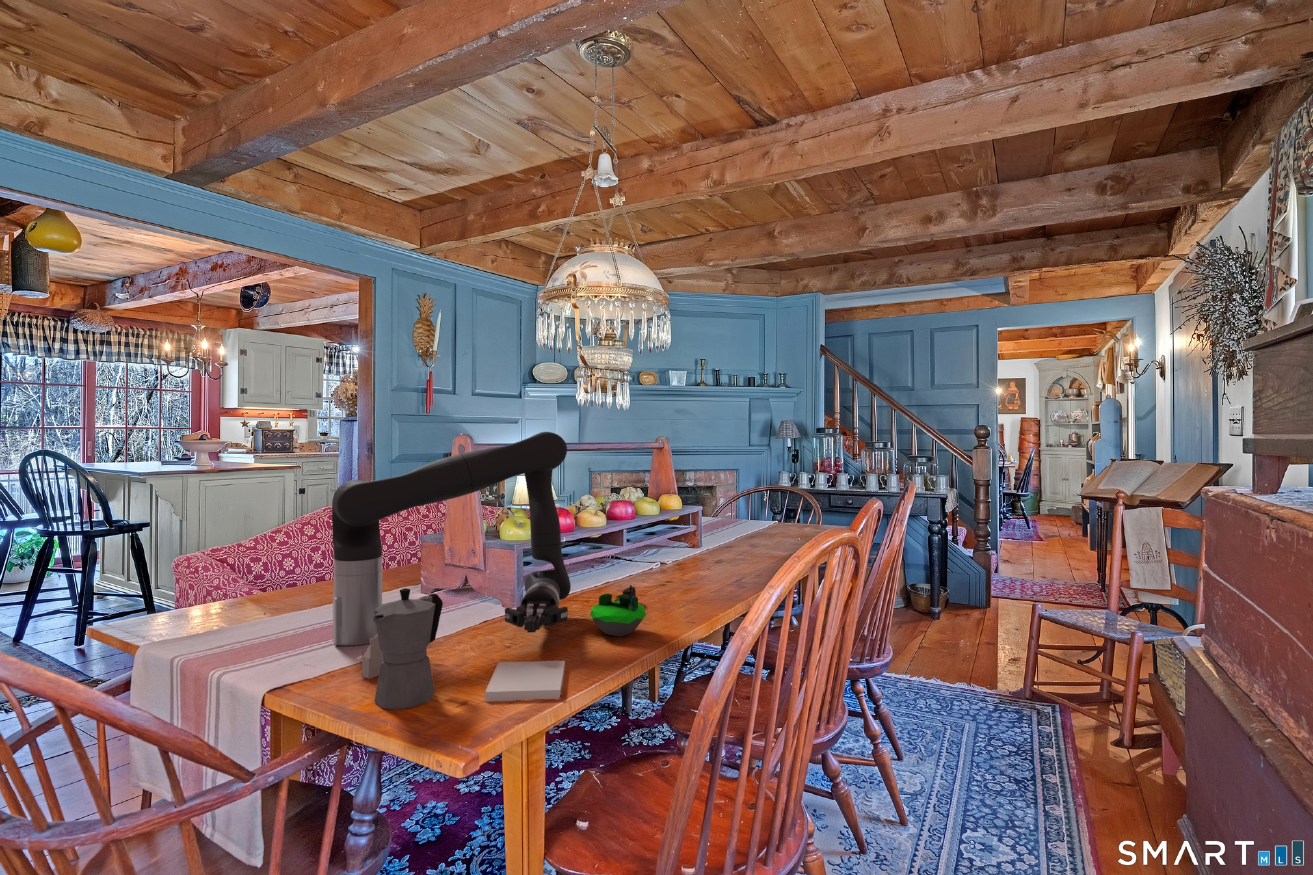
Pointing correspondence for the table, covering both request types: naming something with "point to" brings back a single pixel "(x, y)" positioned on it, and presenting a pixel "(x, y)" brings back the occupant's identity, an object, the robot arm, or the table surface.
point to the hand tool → (627, 593)
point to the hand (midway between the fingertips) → (531, 627)
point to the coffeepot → (406, 650)
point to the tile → (526, 681)
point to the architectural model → (371, 659)
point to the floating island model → (618, 614)
